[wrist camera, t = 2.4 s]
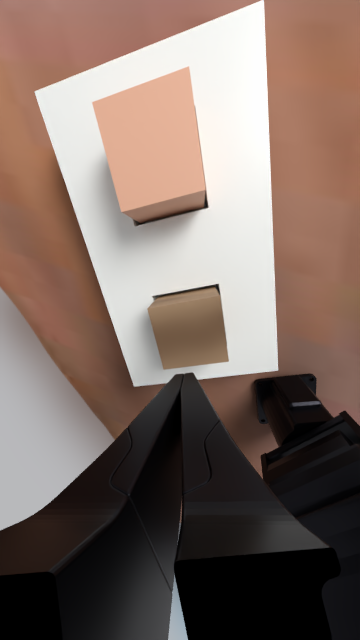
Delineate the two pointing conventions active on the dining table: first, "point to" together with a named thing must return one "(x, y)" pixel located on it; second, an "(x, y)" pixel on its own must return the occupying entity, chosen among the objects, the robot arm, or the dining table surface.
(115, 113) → the terracotta key
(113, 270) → the key panel
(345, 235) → the dining table surface
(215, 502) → the robot arm
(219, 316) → the walnut key
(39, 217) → the dining table surface
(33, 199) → the dining table surface
